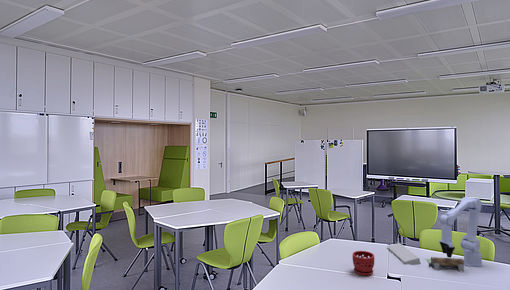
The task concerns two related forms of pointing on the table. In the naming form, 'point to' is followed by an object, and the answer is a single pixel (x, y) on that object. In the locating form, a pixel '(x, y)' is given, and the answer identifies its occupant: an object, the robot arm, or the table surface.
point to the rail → (447, 261)
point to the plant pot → (363, 262)
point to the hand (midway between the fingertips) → (447, 255)
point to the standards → (447, 266)
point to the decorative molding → (404, 254)
